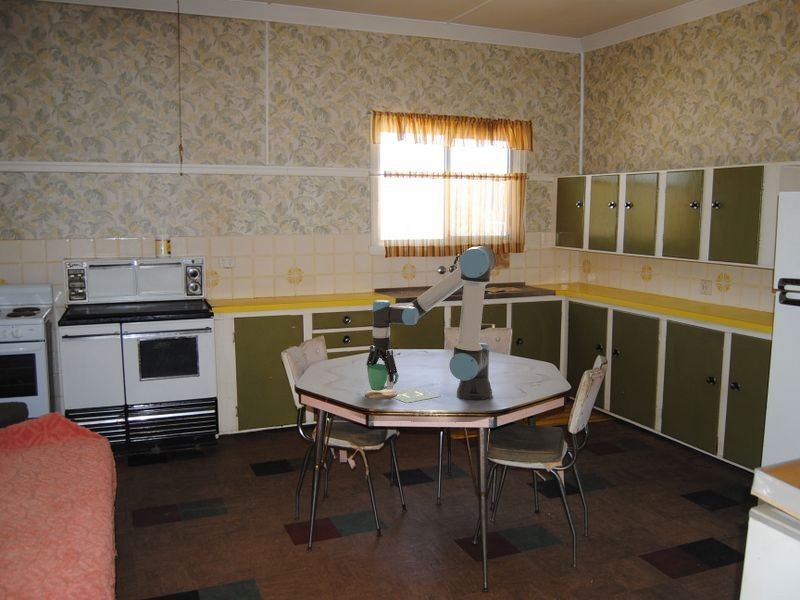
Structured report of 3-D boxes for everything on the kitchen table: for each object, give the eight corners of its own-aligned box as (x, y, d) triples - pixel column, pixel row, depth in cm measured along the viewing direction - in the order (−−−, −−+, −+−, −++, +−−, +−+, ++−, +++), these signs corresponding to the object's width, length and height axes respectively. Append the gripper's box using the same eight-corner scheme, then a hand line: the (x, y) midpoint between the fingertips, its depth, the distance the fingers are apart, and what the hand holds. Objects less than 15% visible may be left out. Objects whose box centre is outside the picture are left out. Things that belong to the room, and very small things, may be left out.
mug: (361, 389, 314) (363, 366, 313) (372, 384, 323) (374, 362, 321) (391, 396, 308) (393, 373, 306) (401, 391, 317) (403, 368, 315)
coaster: (404, 395, 314) (404, 394, 314) (376, 400, 306) (376, 399, 306) (385, 388, 326) (385, 387, 325) (358, 393, 317) (358, 392, 317)
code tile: (440, 396, 313) (440, 396, 313) (406, 403, 303) (406, 402, 303) (415, 387, 328) (415, 387, 328) (381, 393, 317) (381, 393, 317)
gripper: (405, 339, 305) (405, 390, 308) (372, 331, 324) (372, 378, 327) (390, 341, 300) (390, 393, 303) (358, 333, 320) (358, 381, 323)
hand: (381, 385), depth 315 cm, fingers closed on mug, 12 cm apart
